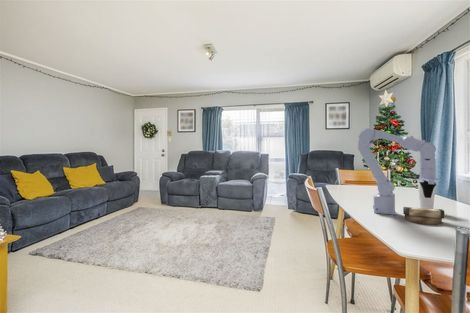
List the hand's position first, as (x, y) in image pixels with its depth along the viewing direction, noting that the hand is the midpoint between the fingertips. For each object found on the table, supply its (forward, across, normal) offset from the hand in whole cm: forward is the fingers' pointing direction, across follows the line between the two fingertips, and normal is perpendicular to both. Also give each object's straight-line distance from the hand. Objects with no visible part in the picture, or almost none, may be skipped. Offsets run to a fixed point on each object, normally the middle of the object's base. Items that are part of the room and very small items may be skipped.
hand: (427, 197), depth 109 cm
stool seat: (+9, -6, +3) cm, 12 cm away
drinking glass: (+10, +13, -2) cm, 16 cm away
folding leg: (+7, -6, +3) cm, 10 cm away
